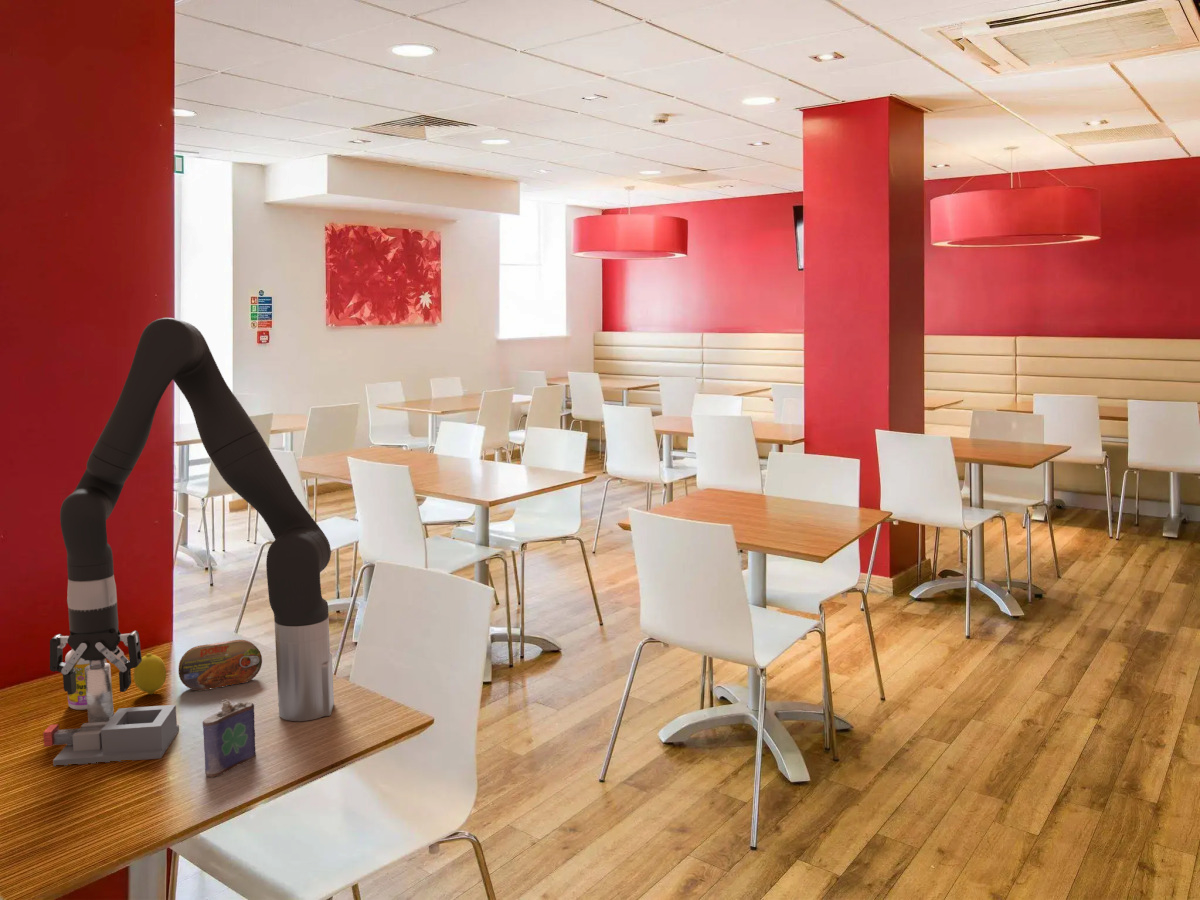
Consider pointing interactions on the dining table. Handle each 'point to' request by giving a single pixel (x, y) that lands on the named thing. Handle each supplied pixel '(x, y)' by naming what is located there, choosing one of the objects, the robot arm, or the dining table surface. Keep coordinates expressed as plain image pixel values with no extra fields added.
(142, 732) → the mount
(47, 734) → the lock pin
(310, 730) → the dining table surface
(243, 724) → the flask
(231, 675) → the tin
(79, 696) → the supplement bottle
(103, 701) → the salt shaker
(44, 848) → the dining table surface
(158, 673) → the lemon
